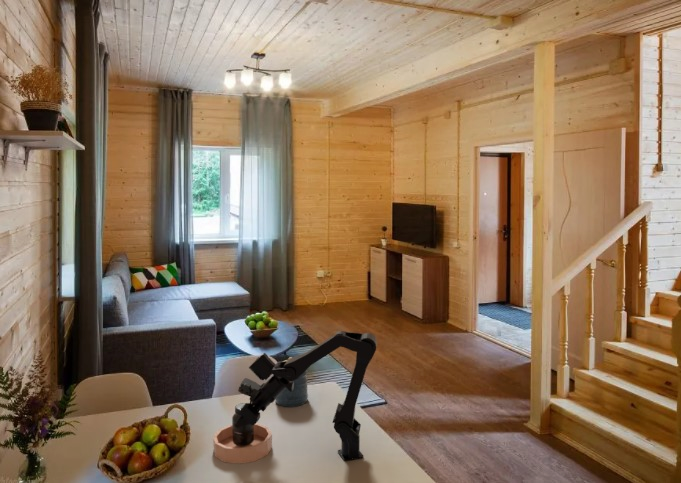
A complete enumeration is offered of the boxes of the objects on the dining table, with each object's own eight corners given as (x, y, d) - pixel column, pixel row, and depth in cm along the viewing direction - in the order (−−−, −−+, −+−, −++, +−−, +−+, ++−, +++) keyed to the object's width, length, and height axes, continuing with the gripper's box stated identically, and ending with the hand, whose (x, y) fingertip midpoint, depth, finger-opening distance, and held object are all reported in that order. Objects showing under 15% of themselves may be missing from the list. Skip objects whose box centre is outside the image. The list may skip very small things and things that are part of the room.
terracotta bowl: (276, 456, 167) (276, 443, 167) (218, 467, 161) (218, 453, 160) (264, 432, 184) (264, 419, 183) (211, 440, 178) (210, 427, 177)
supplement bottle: (232, 447, 168) (231, 411, 167) (233, 437, 175) (231, 402, 174) (254, 445, 170) (253, 409, 168) (254, 435, 176) (253, 400, 175)
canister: (270, 397, 214) (270, 354, 212) (301, 392, 220) (300, 350, 218) (281, 409, 202) (280, 364, 201) (312, 404, 208) (312, 360, 206)
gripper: (261, 362, 179) (230, 393, 181) (244, 382, 160) (210, 416, 162) (284, 385, 178) (253, 416, 181) (271, 408, 160) (236, 442, 162)
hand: (238, 421), depth 172 cm, fingers closed on supplement bottle, 7 cm apart
